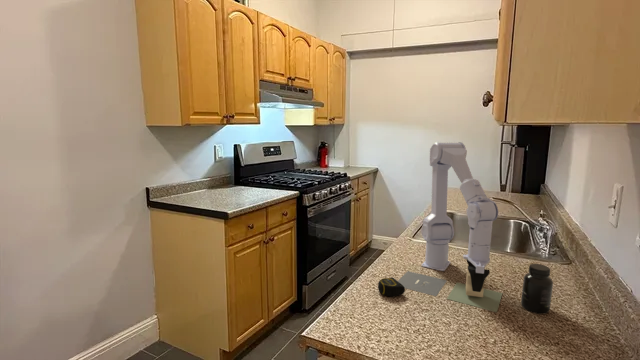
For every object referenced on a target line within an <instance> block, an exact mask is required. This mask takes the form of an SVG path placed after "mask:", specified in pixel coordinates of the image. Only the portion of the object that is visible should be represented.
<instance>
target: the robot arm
mask: <svg viewBox="0 0 640 360" xmlns="http://www.w3.org/2000/svg"><path fill="white" fill-rule="evenodd" d="M467 152H468V151H467V148H466V145H465V144H464V143H463V141H462V142H461V141H458V142H439V141H435V142H434V143H433V144H432V145H431V147H430V148H429V166H430V167H431V168H432V169H431V170H432V171H431V211H430V214H429V215H427V216H426V217H424V218H423V221H422V222H423V223H422V226H421V231H420V232H421V236H422V238H423V240H424V241H425V244H426V245H425V256H424V257H425V258H424V261H423V263H421V265H420V267H424V268H428V269H432V270H437V271H442V272H445V271H446V270H447V268H448V267H449V265H450V264H451V261H449V250H450V246H449V245H450V243H451V241H452V240H453V239H454V236H455V228H454V221H453V219H452V218H451V217H450V216H448V215H447V213H448V212H447V211H448V185H449V184H448V183H449V181H448V178H449V176H448V175H449V170H450V168H452V169H453V171H454V173H455V174H456V176H457V178H458V180H459V182H460V183H461V184H460V186H459V190H460V192H461V194H462V196H463V198H464V201H465V203H466V205H467V208H466V209H465V210H466V215H467V216H466V217H467V219H468V221H467V224H468V226H469V236H468V247H467V254H466V253H465V254H463V255H462V258H463V259H464V260H466V263H467V264H468V265H467V270H468V271H469V273H470V276H471V283H472V290H473V291H476V292H481V290H482V287H483V284H484V285H485V281H486V279H487V278H488V276H489V275H490V269H487V268H486V266H487V265H488V264H489V263H490V262H491V257H490V255H491V253H490V252H491V244H492V231H493V222H494V221H496V220H497V218H498V217H499V209H498V205H497V203H496V202H495V200H492V199H491V198H490V197H488V195H487V194H486V192H485V190H484V188H483V187H482V184H481V183H480V180H479V179H475V178H474V177H473V175H472V172H471V170H470V167H469V164H468V162H467V159H466V158H467Z"/></svg>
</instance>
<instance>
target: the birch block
mask: <svg viewBox="0 0 640 360" xmlns="http://www.w3.org/2000/svg"><path fill="white" fill-rule="evenodd" d="M465 276H466V279H465V284H466V295H470V296H476V297H483V291H484V289H485V283H484V284H483V287H482V290H481V292H476V291H473V290H472V283H471V276H470V273H469V271H468V269H466V275H465Z"/></svg>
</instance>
